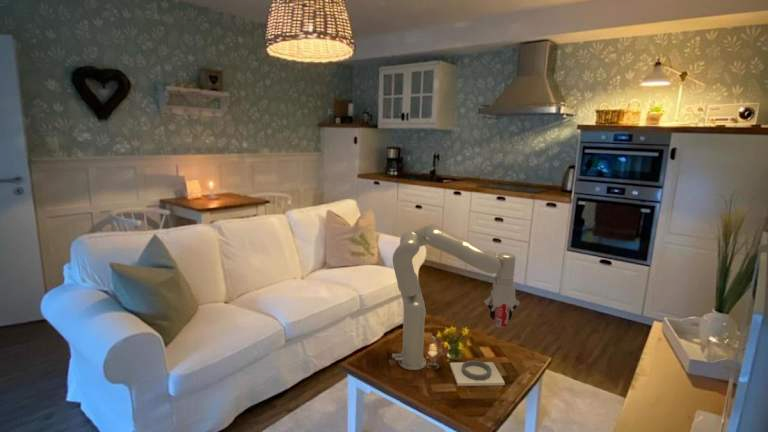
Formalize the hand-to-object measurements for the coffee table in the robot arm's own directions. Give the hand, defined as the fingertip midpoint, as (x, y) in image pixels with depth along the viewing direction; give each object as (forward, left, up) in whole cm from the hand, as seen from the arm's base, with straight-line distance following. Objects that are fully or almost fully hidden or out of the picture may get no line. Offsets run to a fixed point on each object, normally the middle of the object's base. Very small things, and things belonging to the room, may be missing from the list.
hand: (500, 318), depth 183 cm
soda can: (0, 0, -4) cm, 4 cm away
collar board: (-12, -8, -23) cm, 27 cm away
